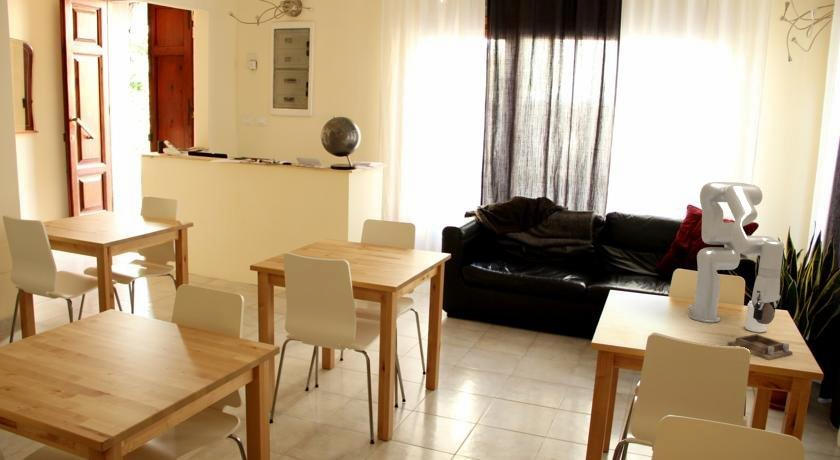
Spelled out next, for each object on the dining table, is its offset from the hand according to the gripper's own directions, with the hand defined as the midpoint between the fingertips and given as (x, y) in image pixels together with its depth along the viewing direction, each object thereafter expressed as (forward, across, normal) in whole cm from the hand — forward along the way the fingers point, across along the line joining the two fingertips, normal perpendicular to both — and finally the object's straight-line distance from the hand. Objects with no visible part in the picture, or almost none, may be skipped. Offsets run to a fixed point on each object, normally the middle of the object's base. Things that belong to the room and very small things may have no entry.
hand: (763, 317), depth 278 cm
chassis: (+13, 0, 0) cm, 13 cm away
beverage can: (+13, -21, -17) cm, 30 cm away
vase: (+2, 0, 0) cm, 2 cm away
